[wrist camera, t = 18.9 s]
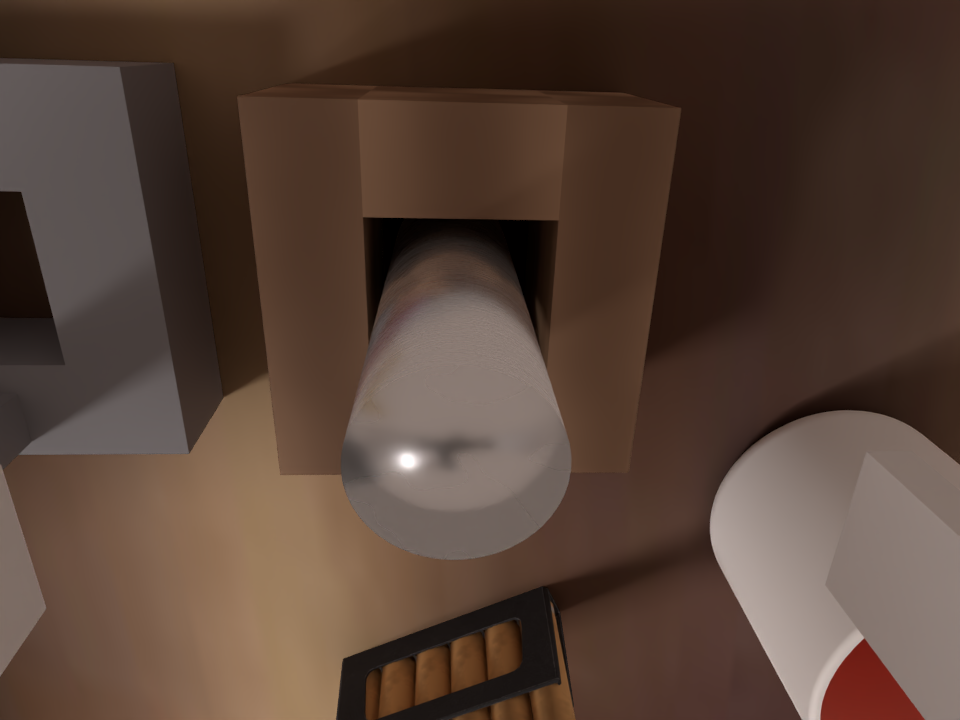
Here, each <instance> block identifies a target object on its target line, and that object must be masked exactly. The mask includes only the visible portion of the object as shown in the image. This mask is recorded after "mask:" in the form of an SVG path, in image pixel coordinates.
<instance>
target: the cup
mask: <svg viewBox="0 0 960 720" xmlns="http://www.w3.org/2000/svg"><path fill="white" fill-rule="evenodd" d="M871 451H913V452H914V453H915V454H916V455H918V456H919V457H920V458H921V459H923V460H924V461H925V462H926V463H927V464H929V465H930V466H931V467H932V468H933V469H935V470H936V471H937V472H938V473H939V474H941V475H942V476H943V477H944V478H945V479H947V480H948V481H949V482H950V483H951V484H953V485H954V486H955V487H956V488H957V489H959V490H960V464H958V463H957V462H956V461H955V460H953V459H952V458H951V457H950V456H948V455H947V454H946V453H945V452H943V451H942V450H941V449H940V448H938V447H937V446H936V445H935V444H934V443H932V442H931V441H930V440H929V439H927V438H926V437H925V436H924V435H922V434H921V433H920V432H918V431H917V430H916V429H914V428H912V427H911V426H909V425H907V424H905V423H904V422H901V421H899V420H897V419H894V418H892V417H889V416H886V415H882V414H878V413H873V412H867V411H854V410H839V411H829V412H823V413H818V414H814V415H810V416H806V417H803V418H800V419H797V420H795V421H792V422H790V423H788V424H786V425H784V426H782V427H780V428H778V429H776V430H774V431H772V432H770V433H769V434H767V435H766V436H764V437H763V438H761V439H760V440H759V441H757V442H756V443H755V444H753V445H752V446H751V447H750V448H749V449H748V450H747V451H746V452H744V453H743V454H742V455H741V457H740V458H739V459H738V460H737V461H736V462H735V463H734V464H733V466H732V467H731V468H730V470H729V471H728V473H727V474H726V476H725V477H724V479H723V481H722V483H721V484H720V486H719V489H718V491H717V493H716V496H715V499H714V503H713V506H712V511H711V517H710V537H711V543H712V548H713V551H714V554H715V557H716V560H717V562H718V564H719V566H720V568H721V570H722V571H723V573H724V575H725V577H726V579H727V581H728V583H729V584H730V586H731V588H732V590H733V592H734V594H735V596H736V598H737V599H738V601H739V603H740V605H741V607H742V609H743V611H744V612H745V614H746V616H747V618H748V620H749V622H750V624H751V625H752V627H753V629H754V631H755V633H756V635H757V637H758V639H759V640H760V642H761V644H762V646H763V648H764V650H765V652H766V653H767V655H768V657H769V659H770V661H771V663H772V665H773V666H774V668H775V670H776V672H777V674H778V676H779V678H780V680H781V681H782V683H783V685H784V687H785V689H786V691H787V693H788V694H789V696H790V698H791V700H792V702H793V704H794V706H795V707H796V709H797V711H798V713H799V715H800V717H801V719H802V720H925V719H924V718H923V716H922V715H921V714H920V712H919V711H918V710H917V708H916V707H915V706H914V704H913V703H912V702H911V700H910V699H909V698H908V696H907V695H906V693H905V692H904V691H903V689H902V688H901V687H900V685H899V684H898V683H897V681H896V680H895V679H894V677H893V676H892V675H891V673H890V672H889V671H888V669H887V668H886V667H885V665H884V664H883V662H882V661H881V660H880V658H879V657H878V656H877V654H876V653H875V652H874V650H873V649H872V648H871V646H870V645H869V644H868V642H867V641H866V640H865V638H864V637H863V636H862V634H861V633H860V631H859V630H858V629H857V627H856V626H855V625H854V623H853V622H852V621H851V619H850V618H849V617H848V615H847V614H846V613H845V611H844V610H843V609H842V607H841V606H840V605H839V603H838V602H837V600H836V599H835V598H834V596H833V595H832V594H831V592H830V591H829V590H828V588H827V587H826V586H825V583H826V580H827V577H828V573H829V570H830V567H831V564H832V561H833V557H834V554H835V551H836V548H837V545H838V541H839V538H840V535H841V532H842V529H843V525H844V522H845V519H846V516H847V513H848V509H849V506H850V503H851V500H852V497H853V493H854V490H855V487H856V484H857V481H858V477H859V474H860V471H861V468H862V465H863V461H864V458H865V455H866V452H871Z"/></svg>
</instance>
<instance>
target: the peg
mask: <svg viewBox="0 0 960 720" xmlns="http://www.w3.org/2000/svg"><path fill="white" fill-rule="evenodd" d="M570 473H571V450H570V443H569V440H568V436H567V433H566V430H565V427H564V423H563V420H562V417H561V414H560V411H559V407H558V404H557V401H556V398H555V395H554V392H553V388H552V385H551V382H550V379H549V376H548V373H547V369H546V366H545V363H544V360H543V357H542V353H541V350H540V347H539V344H538V341H537V338H536V334H535V331H534V328H533V325H532V322H531V319H530V315H529V312H528V309H527V306H526V303H525V299H524V296H523V293H522V290H521V287H520V284H519V280H518V277H517V274H516V271H515V268H514V265H513V261H512V258H511V255H510V252H509V249H508V245H507V242H506V239H505V236H504V233H503V230H502V228H501V225H500V224H499V222H498V220H497V219H439V218H405V219H404V221H403V222H402V224H401V226H400V228H399V231H398V234H397V238H396V242H395V246H394V249H393V253H392V257H391V261H390V265H389V269H388V273H387V276H386V280H385V284H384V288H383V292H382V296H381V300H380V303H379V307H378V311H377V315H376V319H375V323H374V327H373V331H372V334H371V338H370V342H369V346H368V350H367V354H366V358H365V361H364V365H363V369H362V373H361V377H360V381H359V385H358V388H357V392H356V396H355V400H354V404H353V408H352V412H351V415H350V419H349V423H348V427H347V431H346V435H345V439H344V443H343V448H342V454H341V474H342V481H343V485H344V488H345V492H346V495H347V497H348V499H349V501H350V503H351V505H352V507H353V508H354V510H355V511H356V513H357V514H358V516H359V517H360V518H361V519H362V520H363V522H364V523H365V524H366V525H367V526H368V527H369V528H370V529H371V530H372V531H374V532H375V533H376V534H377V535H378V536H380V537H381V538H383V539H384V540H386V541H387V542H389V543H391V544H393V545H395V546H397V547H398V548H400V549H403V550H405V551H408V552H411V553H413V554H417V555H421V556H425V557H430V558H436V559H448V560H461V559H472V558H479V557H484V556H488V555H491V554H495V553H498V552H501V551H503V550H506V549H508V548H511V547H512V546H514V545H516V544H518V543H520V542H522V541H523V540H525V539H526V538H528V537H529V536H531V535H532V534H534V533H535V532H536V531H537V530H538V529H539V528H541V527H542V526H543V525H544V524H545V523H546V521H547V520H548V519H549V518H550V517H551V516H552V515H553V513H554V512H555V510H556V509H557V507H558V506H559V504H560V502H561V500H562V498H563V496H564V494H565V492H566V489H567V486H568V483H569V478H570Z"/></svg>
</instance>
